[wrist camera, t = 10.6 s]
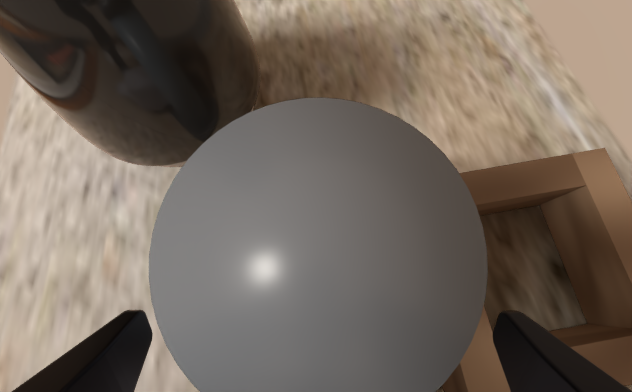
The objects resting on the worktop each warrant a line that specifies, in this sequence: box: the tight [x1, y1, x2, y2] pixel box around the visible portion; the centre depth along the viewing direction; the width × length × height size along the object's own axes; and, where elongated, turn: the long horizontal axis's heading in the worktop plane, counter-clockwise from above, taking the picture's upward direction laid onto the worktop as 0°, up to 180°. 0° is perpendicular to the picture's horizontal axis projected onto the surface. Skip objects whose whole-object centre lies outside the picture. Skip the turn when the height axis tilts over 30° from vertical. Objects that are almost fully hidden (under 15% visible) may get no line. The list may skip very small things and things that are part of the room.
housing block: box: [442, 148, 632, 392], centre depth 16 cm, size 10×10×4 cm
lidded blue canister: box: [149, 98, 488, 392], centre depth 12 cm, size 6×6×12 cm
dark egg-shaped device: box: [0, 0, 261, 167], centre depth 14 cm, size 10×10×15 cm
